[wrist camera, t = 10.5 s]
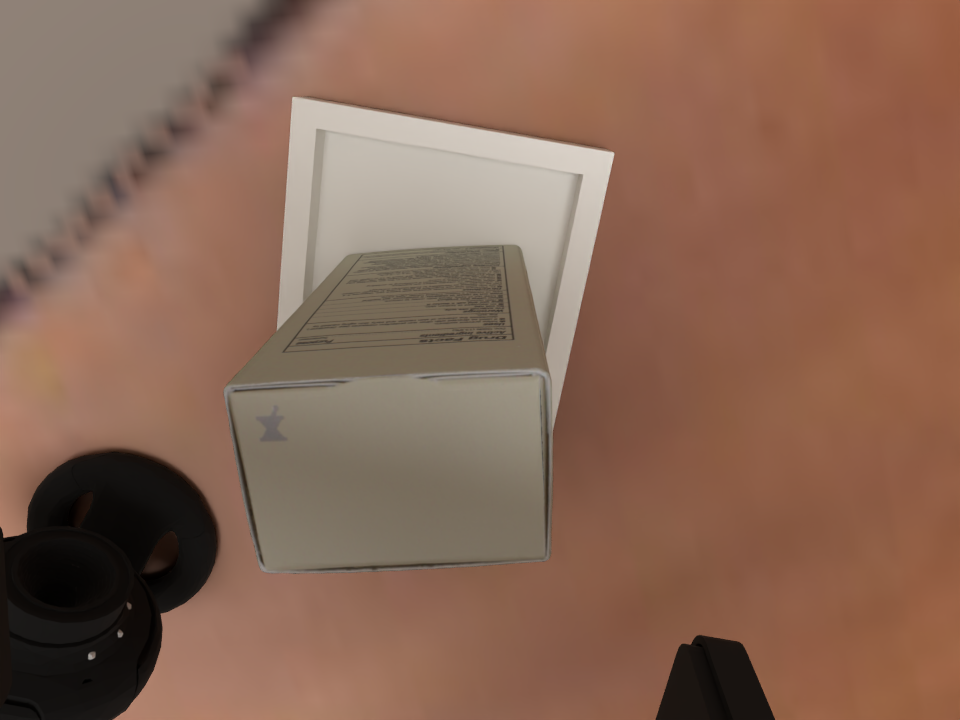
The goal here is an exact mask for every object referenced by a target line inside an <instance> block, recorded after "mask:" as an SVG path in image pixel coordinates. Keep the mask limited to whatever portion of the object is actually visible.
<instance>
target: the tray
mask: <svg viewBox="0 0 960 720" xmlns="http://www.w3.org/2000/svg"><path fill="white" fill-rule="evenodd" d="M613 158H614V152H612V151H610V150H608V149H605V148H599V147H593V146H588V145H582V144H576V143H570V142H565V141H559V140H553V139H548V138H542V137H536V136H530V135H525V134H519V133H513V132H507V131H502V130H496V129H490V128H484V127H479V126H473V125H467V124H461V123H456V122H450V121H444V120H439V119H433V118H427V117H421V116H416V115H410V114H404V113H398V112H393V111H387V110H381V109H375V108H370V107H364V106H358V105H352V104H347V103H341V102H335V101H330V100H324V99H318V98H312V97H292V111H291V126H290V141H289V156H288V171H287V186H286V201H285V216H284V230H283V245H282V260H281V275H280V290H279V305H278V320H277V330H278V329H279V328H280V327H281V326H282V325H283V324H284V323H285V322H286V321H287V319H288V318H289V317H290V316H291V315H292V314H293V313H294V312H295V311H296V310H297V309H298V308H299V307H300V306H301V304H302V303H303V302H304V301H305V300H306V299H307V298H308V297H309V296H310V295H311V294H312V292H313V291H314V290H315V289H316V288H317V287H318V286H319V285H320V284H321V283H322V282H323V281H324V280H325V278H326V277H327V276H328V275H329V274H330V273H331V272H332V271H333V270H334V269H335V268H336V267H337V265H338V264H339V263H340V262H341V261H342V260H343V259H344V258H345V257H346V256H348V255H352V254H363V253H373V252H384V251H396V250H410V249H425V248H441V247H459V246H484V245H517V246H519V247H520V248H521V250H522V252H523V257H524V262H525V266H526V269H527V274H528V280H529V284H530V288H531V293H532V297H533V302H534V306H535V311H536V316H537V320H538V324H539V329H540V333H541V338H542V342H543V347H544V351H545V355H546V360H547V364H548V368H549V372H550V376H551V380H552V420H553V428H554V424H555V419H556V414H557V410H558V405H559V401H560V396H561V392H562V387H563V383H564V378H565V374H566V369H567V365H568V360H569V356H570V351H571V347H572V342H573V338H574V333H575V329H576V324H577V320H578V315H579V311H580V306H581V302H582V297H583V293H584V288H585V284H586V279H587V275H588V270H589V266H590V261H591V257H592V252H593V248H594V243H595V239H596V234H597V230H598V225H599V221H600V216H601V212H602V207H603V203H604V198H605V194H606V189H607V185H608V180H609V176H610V171H611V167H612V162H613Z"/></svg>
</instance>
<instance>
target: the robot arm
mask: <svg viewBox="0 0 960 720" xmlns="http://www.w3.org/2000/svg"><path fill="white" fill-rule="evenodd" d="M11 685H12V665H11V650H10V634H9V619H8V604H7V588H6V573H5V558H4V542H3V532H2V529H1V527H0V708H1V707H2V705H3V704H4V702H5V700H6V698H7V696H8V694H9V692H10V689H11ZM656 720H775V718H774V716H773V713H772V711H771V709H770V706H769V704H768V702H767V699H766V697H765V694H764V692H763V690H762V687H761V685H760V683H759V680H758V678H757V676H756V673H755V671H754V668H753V666H752V664H751V661H750V659H749V657H748V654H747V652H746V650H745V648H744V646H743V645H742V644H741V643H740V642H737V641H731V640H725V639H720V638H714V637H708V636H702V635H698V636H696V637H695V639H694V640H693V642H692V644H691V645H689V644H681V645H680V647H679V649H678V651H677V654H676V657H675V660H674V664H673V667H672V670H671V673H670V676H669V679H668V682H667V686H666V689H665V692H664V695H663V698H662V701H661V704H660V708H659V711H658V714H657V717H656Z"/></svg>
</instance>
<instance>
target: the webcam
mask: <svg viewBox="0 0 960 720" xmlns="http://www.w3.org/2000/svg"><path fill="white" fill-rule="evenodd" d="M90 491H93V500H92V503H91V506H90V509H89V511H88V513H87V514H86V516H85V518H84V520H83V522H82V523H81V525H80V527H79V528H76V527H70V526H69V524H68V517H69V511H70V508H71V506H72V504H73V503H74V502H75V500H76V499H77V498H78V497H80V496H81V495H84V494H86V493H88V492H90ZM170 531H173V532H175V534H176V536H177V540H178V548H179V556H178V559H177V562H176V564H175V566H174V567H173V569H172V570H171V571H170V572H169V573H167V574H166V575H165V576H162V577H160V578H157V579H155V580H150V581H144V579H143V578H142V577H141V576H140V574H141V573H142V571H143V569H144V567H145V565H146V563H147V561H148V559H149V557H150V555H151V553H152V551H153V549H154V548H155V546H156V544H157V543H158V541H159V540H160V539H161V538H162V537H163V536H164V535H165V534H166V533H168V532H170ZM3 542H4V558H5V573H6V588H7V604H8V619H9V634H10V650H11V665H12V685H11V689H10V692H9V694H8V696H7V698H6V700H5V702H4V704H3V705H2V707H1V708H0V720H113V719H114V718H116V717H117V716H118V715H120V714H121V713H123V712H124V711H126V710H127V708H128V707H129V706H130V704H131V703H132V702H133V700H134V699H135V698H136V697H137V696H138V695H139V693H140V692H141V690H142V689H143V688H144V686H145V685H146V683H147V681H148V679H149V678H150V676H151V674H152V672H153V670H154V667H155V664H156V661H157V658H158V655H159V652H160V648H161V641H162V621H161V615H160V614H161V613H165V612H168V611H170V610H172V609H174V608H176V607H178V606H180V605H182V604H184V603H186V602H187V601H188V600H189V599H191V598H192V597H193V596H194V595H195V594H196V593H197V592H198V591H199V590H200V589H201V588H202V586H203V585H204V584H205V583H206V581H207V579H208V577H209V575H210V573H211V571H212V569H213V566H214V563H215V556H216V544H217V541H216V534H215V528H214V525H213V523H212V520H211V518H210V516H209V514H208V512H207V511H206V509H205V507H204V505H203V503H202V501H201V499H200V497H199V495H198V494H197V493H196V492H195V491H194V490H193V489H192V488H191V487H190V486H189V485H188V484H187V483H186V482H185V481H184V480H183V479H182V478H181V477H179V476H178V475H177V474H175V473H174V472H172V471H171V470H169V469H167V468H166V467H164V466H162V465H160V464H157V463H155V462H153V461H151V460H148V459H145V458H142V457H139V456H136V455H131V454H124V453H119V452H110V453H103V454H95V455H88V456H83V457H80V458H76V459H73V460H70V461H68V462H66V463H64V464H63V465H61V466H59V467H58V468H57V469H55V470H54V471H53V472H51V473H50V474H49V475H48V476H47V477H46V478H45V479H44V480H43V481H42V483H41V484H40V485H39V486H38V488H37V489H36V491H35V493H34V495H33V497H32V500H31V502H30V504H29V507H28V518H27V533H24V534H22V535H19V536H13V537H7V538H3Z"/></svg>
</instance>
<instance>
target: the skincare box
mask: <svg viewBox="0 0 960 720" xmlns="http://www.w3.org/2000/svg"><path fill="white" fill-rule="evenodd" d="M224 398H225V403H226V409H227V413H228V419H229V426H230V433H231V438H232V442H233V447H234V454H235V460H236V465H237V470H238V475H239V481H240V485H241V491H242V496H243V501H244V506H245V511H246V516H247V520H248V525H249V529H250V534H251V537H252V540H253V543H254V547H255V552H256V557H257V561H258V564H259V567H260V570H262V571H263V572H265V573H293V574H298V573H357V572H379V571H403V570H421V569H440V568H455V567H476V566H487V565H503V564H513V563H529V562H544V561H547V560H548V559H549V558H550V555H551V530H552V502H553V420H552V380H551V376H550V372H549V368H548V364H547V360H546V355H545V351H544V347H543V342H542V338H541V333H540V329H539V324H538V320H537V316H536V311H535V306H534V302H533V297H532V293H531V288H530V284H529V280H528V274H527V269H526V266H525V262H524V257H523V252H522V250H521V248H520V247H519V246H517V245H484V246H459V247H441V248H425V249H410V250H396V251H384V252H373V253H363V254H352V255H348V256H346V257H345V258H344V259H343V260H342V261H341V262H340V263H339V264H338V265H337V267H336V268H335V269H334V270H333V271H332V272H331V273H330V274H329V275H328V276H327V277H326V278H325V280H324V281H323V282H322V283H321V284H320V285H319V286H318V287H317V288H316V289H315V290H314V291H313V292H312V294H311V295H310V296H309V297H308V298H307V299H306V300H305V301H304V302H303V303H302V304H301V306H300V307H299V308H298V309H297V310H296V311H295V312H294V313H293V314H292V315H291V316H290V317H289V318H288V319H287V321H286V322H285V323H284V324H283V325H282V326H281V327H280V328H279V329H278V330H277V331H276V332H275V333H274V334H273V335H272V337H271V338H270V339H269V340H268V341H267V342H266V343H265V344H264V345H263V346H262V348H261V349H260V350H259V351H258V352H257V353H256V354H255V355H254V356H253V357H252V358H251V360H250V361H249V362H248V363H247V364H246V365H245V366H244V367H243V368H242V369H241V370H240V371H239V372H238V373H237V374H236V375H235V376H234V378H233V379H232V380H231V381H230V382H229V383H228V384H227V386H226V387H225V388H224Z"/></svg>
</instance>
